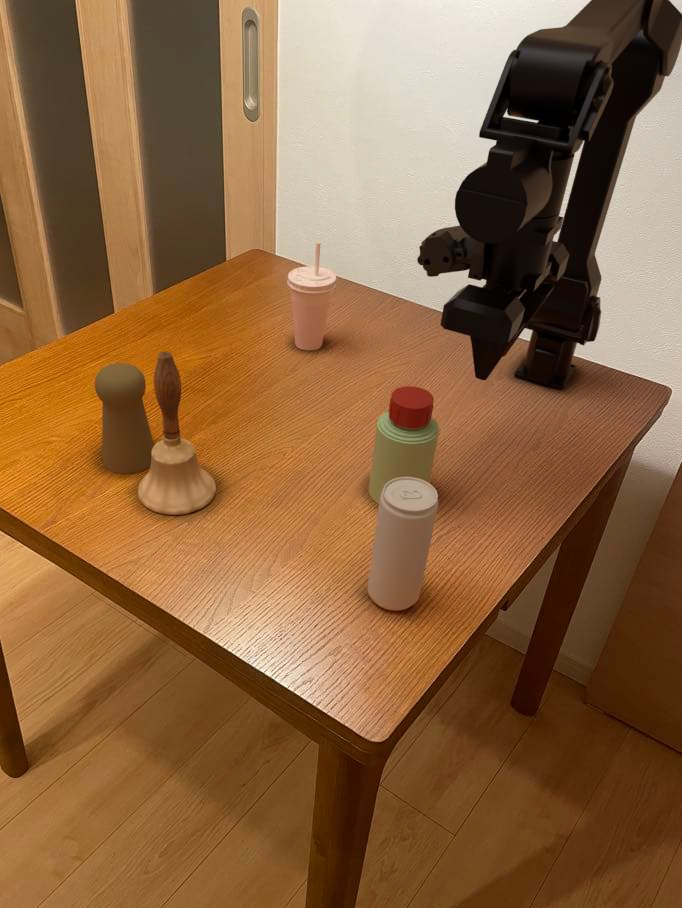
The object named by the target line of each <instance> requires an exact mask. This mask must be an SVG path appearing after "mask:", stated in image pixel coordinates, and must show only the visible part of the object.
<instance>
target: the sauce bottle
mask: <svg viewBox="0 0 682 908" xmlns="http://www.w3.org/2000/svg"><path fill="white" fill-rule="evenodd" d="M439 435H440V425H439V423H438V422H437V420H436V419H435V418H434V417H432V416H431V420H430V422H429V423H428V424H427V425H426V426H424V427H421V428H404V427H401V426H398V425H396V424H394V423H393V422H392V421H391V420H390V418H389V410H388V411H386V412H384V413H382V414H381V415H380V416H379V417H378V418H377V421H376V428H375V435H374V444H373V452H372V460H371V468H370V475H369V483H368V494H369V497H370V498H371V500H372V501H374V502H375V503H376V504H377V505H379V501H380V496H381V493H382V491H383V488H384V486H385V484H386V483H387V482H389V481H390V480H392V479H395V478H398V477H414V478H419V479H421V480H424V481H426V482H428V483H429V484H430V483H431V482H430V481H431V476H432V472H433V466H434V460H435V457H436V455H435V454H436V450H437V444H438V439H439Z"/></svg>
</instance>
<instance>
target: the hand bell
mask: <svg viewBox="0 0 682 908" xmlns="http://www.w3.org/2000/svg"><path fill="white" fill-rule="evenodd" d="M153 390H154V394H155V399H156V401H157V404H158V407H159V408H160V411H161V415H162V416H161V417H162V429H163V430H162V435H163V439H161V440H159V441H157V443H154V447H153V449H152V453H151V455H152V457H151V466H150V467H149V471H148V473H147V474H146V475H144V476H143V478H142V479H141V480H140V482H139V485H138V487H137V497H138V499H139V501H140V503H141V505H143V506H144V507H145V508H147V509H148V510H150V511H152V512H155V513H157V514H161V515H162V514H163V515H167V516H180V515H181V516H182V515H186V514H190V513H193V512H196V511H199V510H201V509H203V508H205V507H206V506H207V505H208V504H209V503H211V502H212V500H213V499H214V497H215V495H216V493H217V484H216V482H215V479H214V478H213V476H212V474H210V473H209V472H208V471H206V470H205V469H204V468H202V467H201V465H200V463H199V460H198V457H197V453H196V448H195V446H194V444H193V443H192V442H191V441H189V440H188V439H185V438H181V429H180V422H179V408H180V407H179V406H180V404H181V403H180V402H181V400H182V399H181V398H182V380H181V374H180V372H179V369H178V367H177V364H176V363H175V360H174V358H173V354H172V353H171V351H168V350H167V351H165V350H164V351H160V352H159V353H158V354H157V361H156V365H155V369H154V373H153Z"/></svg>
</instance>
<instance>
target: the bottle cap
mask: <svg viewBox="0 0 682 908" xmlns="http://www.w3.org/2000/svg"><path fill="white" fill-rule="evenodd" d="M434 399H435V398H434V395H433V394H432V393H431V391H429V390H427V389H425V388H423V387H419V386H414V385H413V386H411V385H407V386H406V385H405V386H400V387H397V388H395V389H394V390H393V391H392V392H391V395H390V398H389V405H388V411H389V418H390V420H391V421H392V422H393V423H394V424H396V425H398V426H401V427H404V428H421V427H424V426H426V425H427V424H428V423H429V422H430V420H431V417H432V416H433V411H434V401H435V400H434Z"/></svg>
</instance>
